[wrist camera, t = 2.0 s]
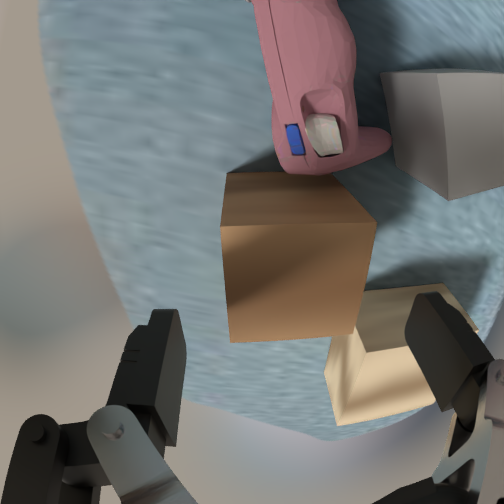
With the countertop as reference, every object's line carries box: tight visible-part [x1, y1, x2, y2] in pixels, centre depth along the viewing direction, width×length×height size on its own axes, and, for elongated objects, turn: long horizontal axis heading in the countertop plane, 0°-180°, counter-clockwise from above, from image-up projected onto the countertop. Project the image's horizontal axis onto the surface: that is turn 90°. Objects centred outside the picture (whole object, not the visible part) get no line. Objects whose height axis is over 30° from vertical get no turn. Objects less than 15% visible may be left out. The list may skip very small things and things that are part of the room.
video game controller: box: [245, 0, 392, 176], centre depth 9 cm, size 10×5×7 cm, turn 11°
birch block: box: [324, 283, 479, 426], centre depth 18 cm, size 8×8×5 cm
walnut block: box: [220, 171, 377, 343], centre depth 13 cm, size 5×5×6 cm
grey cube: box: [380, 68, 504, 201], centre depth 11 cm, size 5×5×5 cm
